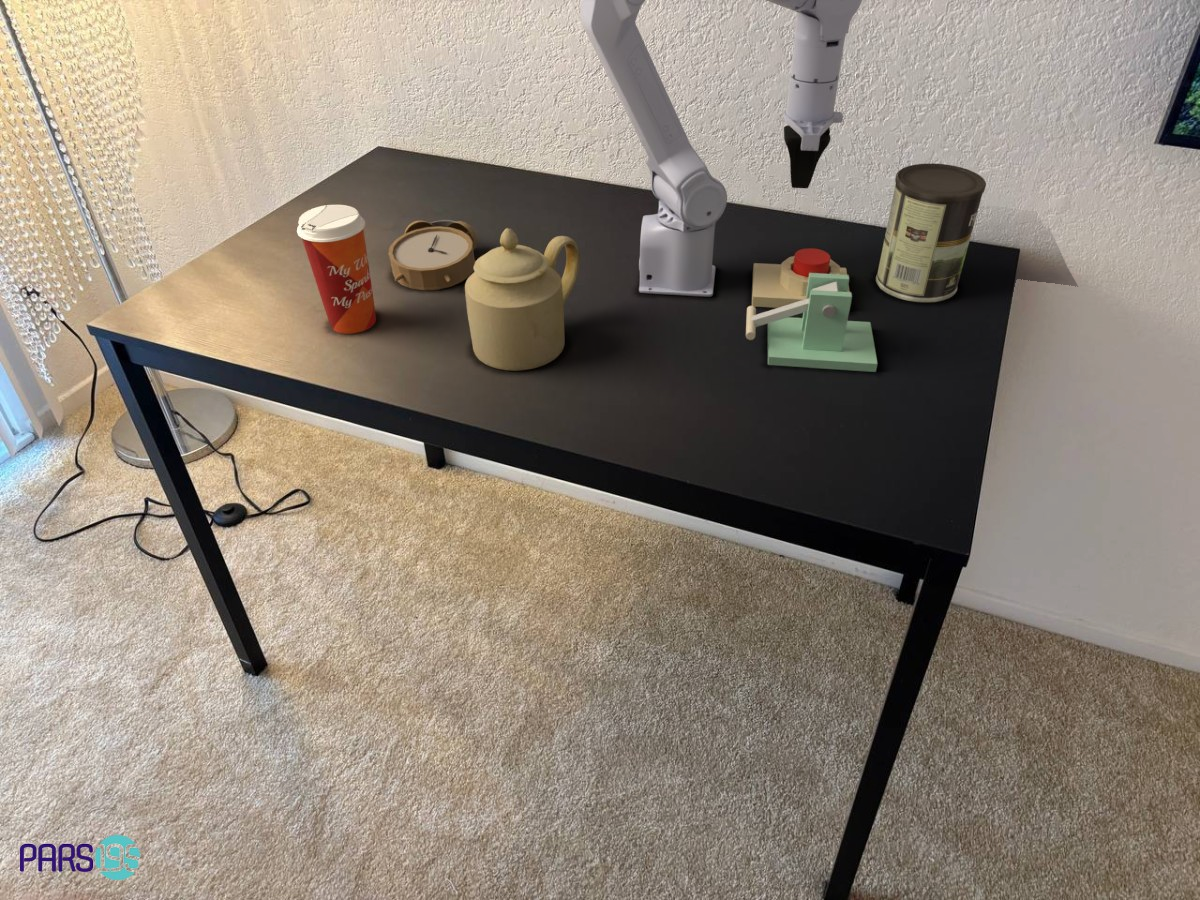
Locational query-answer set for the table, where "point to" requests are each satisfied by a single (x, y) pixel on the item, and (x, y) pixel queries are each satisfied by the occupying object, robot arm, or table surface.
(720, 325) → the table surface
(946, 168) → the coffee can
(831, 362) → the bracket
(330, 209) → the paper cup
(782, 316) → the lever
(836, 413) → the table surface
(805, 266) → the red button
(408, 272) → the alarm clock
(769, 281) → the button housing
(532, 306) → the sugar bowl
